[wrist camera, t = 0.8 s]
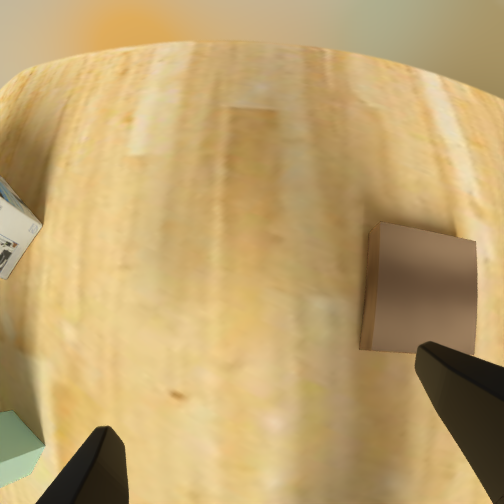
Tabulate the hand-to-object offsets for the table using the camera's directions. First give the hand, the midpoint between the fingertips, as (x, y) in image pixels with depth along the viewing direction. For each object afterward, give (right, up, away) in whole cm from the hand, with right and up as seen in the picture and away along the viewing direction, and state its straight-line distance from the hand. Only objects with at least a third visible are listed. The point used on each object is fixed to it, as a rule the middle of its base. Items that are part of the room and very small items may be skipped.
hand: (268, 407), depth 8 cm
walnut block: (+13, +1, +16) cm, 20 cm away
